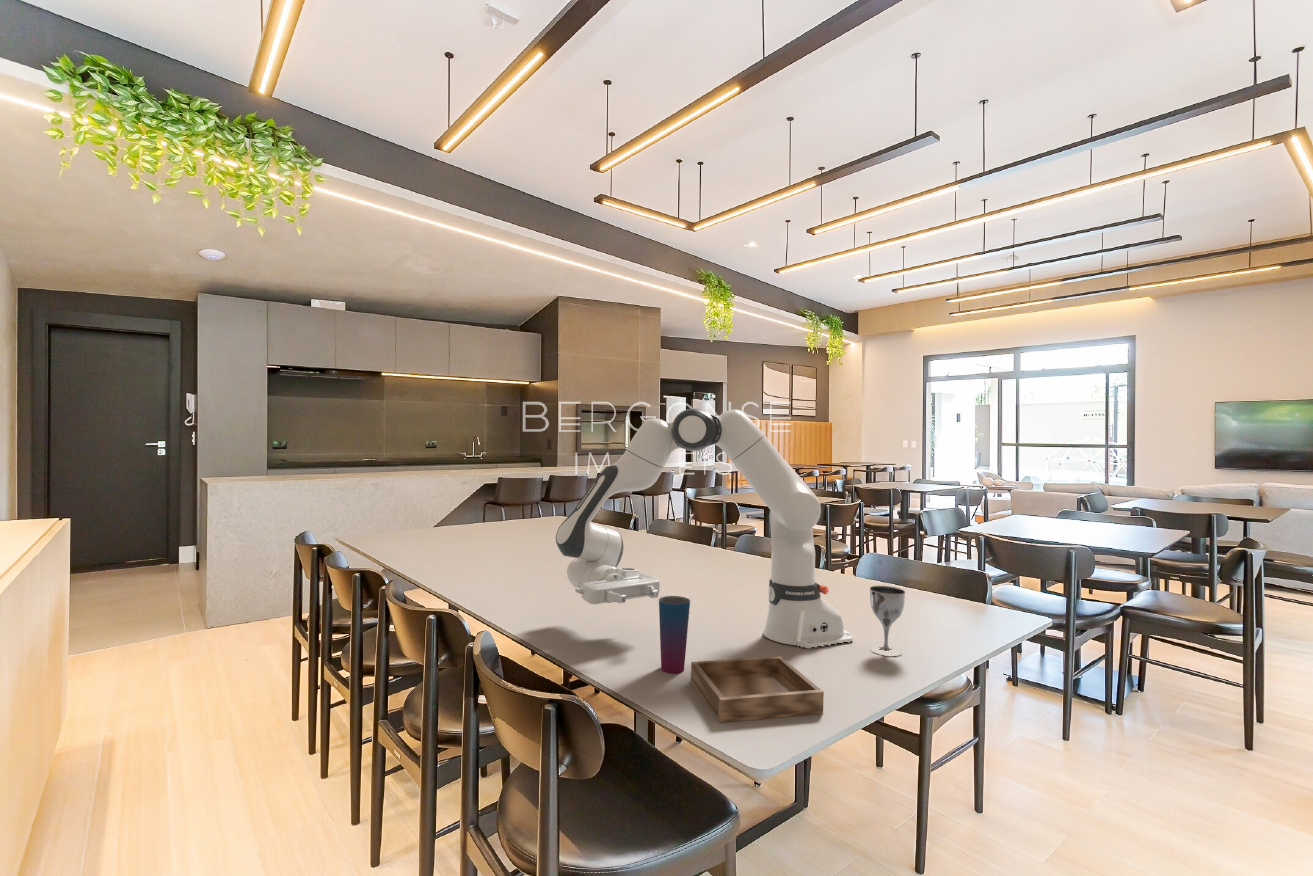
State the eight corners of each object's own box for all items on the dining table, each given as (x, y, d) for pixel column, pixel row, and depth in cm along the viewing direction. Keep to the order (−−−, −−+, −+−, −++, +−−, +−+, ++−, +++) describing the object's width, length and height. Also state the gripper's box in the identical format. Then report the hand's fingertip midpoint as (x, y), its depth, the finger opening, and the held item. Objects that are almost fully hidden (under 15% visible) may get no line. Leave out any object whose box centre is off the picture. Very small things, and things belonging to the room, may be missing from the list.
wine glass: (862, 646, 144) (864, 585, 144) (893, 645, 145) (894, 585, 145) (877, 657, 136) (879, 593, 136) (910, 657, 137) (911, 594, 137)
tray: (780, 675, 124) (780, 656, 124) (823, 713, 107) (823, 691, 107) (690, 681, 120) (691, 661, 120) (720, 722, 102) (720, 700, 102)
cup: (685, 676, 122) (687, 605, 122) (654, 673, 123) (656, 602, 123) (690, 664, 129) (692, 597, 129) (660, 661, 130) (662, 594, 130)
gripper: (572, 575, 140) (602, 588, 129) (640, 567, 153) (673, 579, 142) (571, 601, 140) (601, 617, 129) (639, 591, 153) (672, 604, 142)
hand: (639, 597), depth 136 cm, fingers open, 8 cm apart
